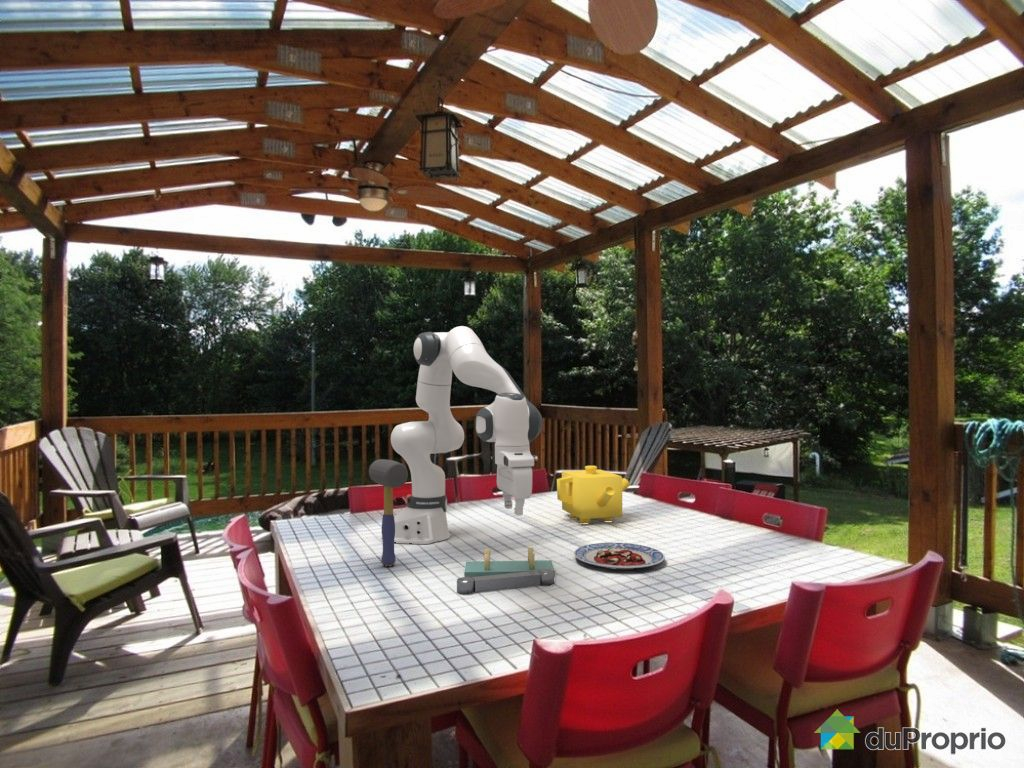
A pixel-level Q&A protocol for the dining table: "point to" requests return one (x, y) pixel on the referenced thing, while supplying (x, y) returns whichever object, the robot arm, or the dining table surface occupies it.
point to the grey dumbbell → (505, 581)
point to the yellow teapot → (591, 494)
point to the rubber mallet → (388, 501)
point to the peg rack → (505, 565)
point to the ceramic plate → (619, 555)
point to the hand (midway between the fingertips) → (513, 511)
